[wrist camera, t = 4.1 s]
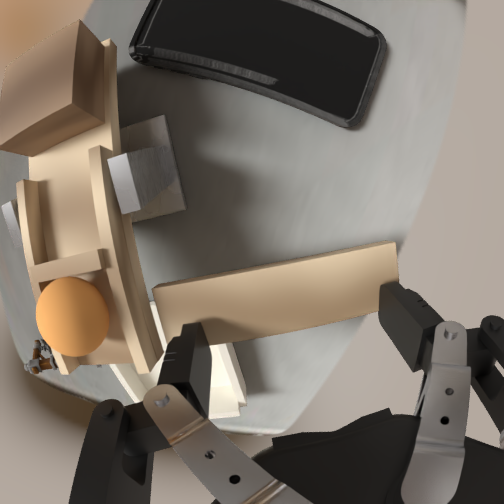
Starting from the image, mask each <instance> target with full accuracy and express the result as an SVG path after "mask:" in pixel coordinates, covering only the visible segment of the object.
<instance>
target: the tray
mask: <svg viewBox="0 0 504 504" xmlns="http://www.w3.org/2000/svg"><path fill="white" fill-rule="evenodd" d="M150 306H151V310H152V313H153V317H154V320H155V324H156V327H157V331H158V334H159V337H160V340H161V344H162V347H163V350H164V354H163V355H162V357H161V358H160V360H159V361H157V363H156V365H155V366H154V368H153V369H152V371H151V372H150V373H146V374H138V372H137V369H136V367H135V364H134V363H125V364H109V365H110V367H111V368H112V370H113V371H114V373H115V375H116V376H117V378H118V379H119V381H120V382H121V384H122V385H123V386H124V388H125V389H126V391H127V392H128V394H129V395H130V396H131V398H132V399H133V401H134V402H135V403H138V402H141V401H143V398H144V396H145V394H146V393H147V392H148V391H149V390H150V389H151V388H153V387H155V386H157V382H158V378H159V374H160V370H161V366H162V363H163V359H164V355H165V351H166V348H167V343H166V339H165V336H164V333H163V329H162V326H161V322H160V319H159V315H158V312H157V308H156V304H155V301H152V302H150ZM210 349H211V354H212V372H211V386H210V403H209V419H215V418H225V417H235V416H240V407H243V406H247V398H246V384H245V381H244V378H243V375H242V372H241V369H240V366H239V362H238V359H237V356H236V353H235V350H234V346H233V343H225V344H218V345H211V346H210Z"/></svg>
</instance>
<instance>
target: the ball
mask: <svg viewBox="0 0 504 504" xmlns="http://www.w3.org/2000/svg"><path fill="white" fill-rule="evenodd" d="M36 320H37V325H38V328H39V331H40V333H41V335H42V337H43V339H44V340H45V341H46V342H47V344H48V345H49V346H50V347H51V348H53V349H54V350H55V351H57V352H59V353H61V354H63V355H66V356H72V357H78V356H84V355H87V354H90V353H91V352H93V351H95V350H96V349H97V348H98V347H99V346H100V345H101V344H102V342H103V341H104V339H105V337H106V335H107V332H108V328H109V311H108V307H107V304H106V301H105V299H104V297H103V296H102V294H101V293H100V291H99V290H98V289H97V288H96V287H95V286H94V285H93V284H91V283H90V282H88V281H86V280H84V279H82V278H78V277H62V278H59V279H56V280H54V281H53V282H51V283H50V284H49V285H48V286H47V287H46V288H45V289H44V290H43V292H42V293H41V295H40V297H39V299H38V303H37V308H36Z"/></svg>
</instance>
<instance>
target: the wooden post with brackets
mask: <svg viewBox="0 0 504 504" xmlns="http://www.w3.org/2000/svg"><path fill="white" fill-rule="evenodd" d="M41 347H42V349H41ZM43 349H44V350H45V351H46V349H47V350H49V352H50V354H52V350H51V347H50V346H49V345H48V344H46V346H45V344H44V346H41V343H40V341H39V340H35V343H34V345H33V350H34V352H33V360H28V364H25V366H24V368H25V370H26V371H30V373H31V374H33V373H34V374H39V372H42V370H46V369H52V368H53V369H54V370H57V368H59V367H58V365H57V363H56V360H55V358H54V356H53V355H52V356H50V358H47V359H45V358H44V357H43V356H42V355H41V354H40V353H41V350H43ZM40 357H41V358H42V360H40V359H39V358H40ZM98 367H101V364H99V365H97V368H98Z"/></svg>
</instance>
